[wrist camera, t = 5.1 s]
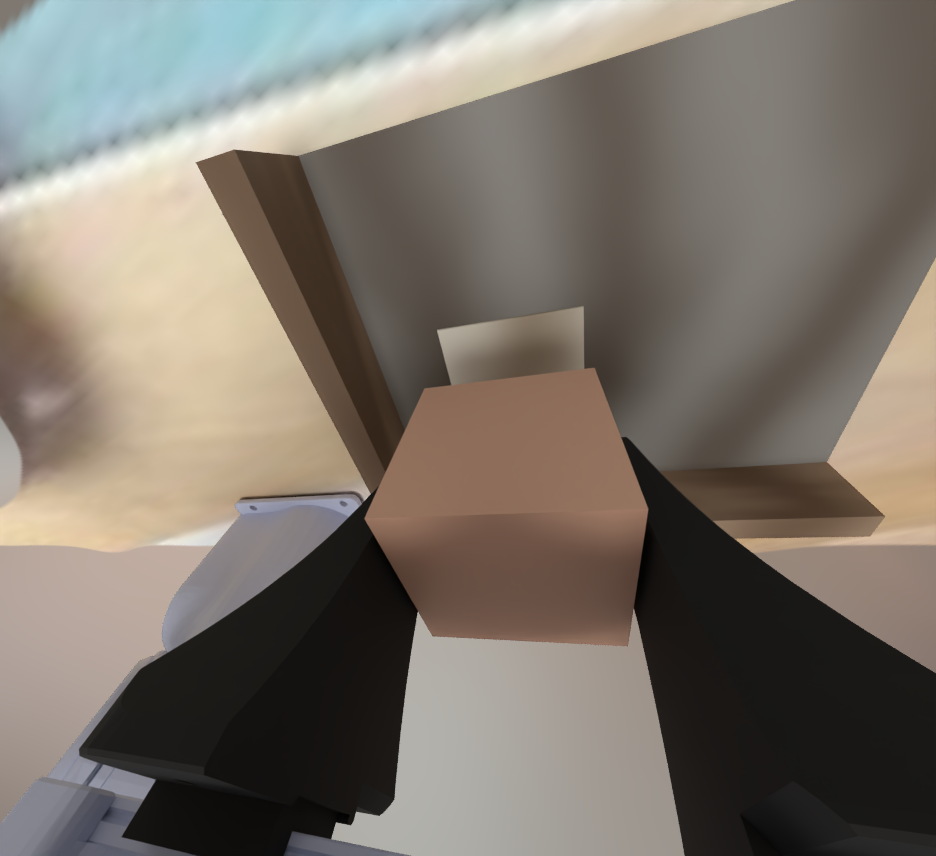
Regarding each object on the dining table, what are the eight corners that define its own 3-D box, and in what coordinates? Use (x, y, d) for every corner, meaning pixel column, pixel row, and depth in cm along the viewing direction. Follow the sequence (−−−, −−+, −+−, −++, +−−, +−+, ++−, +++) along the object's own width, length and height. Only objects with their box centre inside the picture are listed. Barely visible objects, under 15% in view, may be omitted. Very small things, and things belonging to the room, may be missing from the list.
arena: (416, 487, 21) (397, 543, 18) (284, 167, 12) (195, 162, 9) (802, 466, 16) (870, 536, 13) (1063, -74, 7) (1476, -266, 4)
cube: (459, 498, 13) (432, 635, 9) (424, 388, 10) (364, 518, 6) (593, 492, 12) (627, 646, 8) (594, 367, 9) (648, 509, 5)
